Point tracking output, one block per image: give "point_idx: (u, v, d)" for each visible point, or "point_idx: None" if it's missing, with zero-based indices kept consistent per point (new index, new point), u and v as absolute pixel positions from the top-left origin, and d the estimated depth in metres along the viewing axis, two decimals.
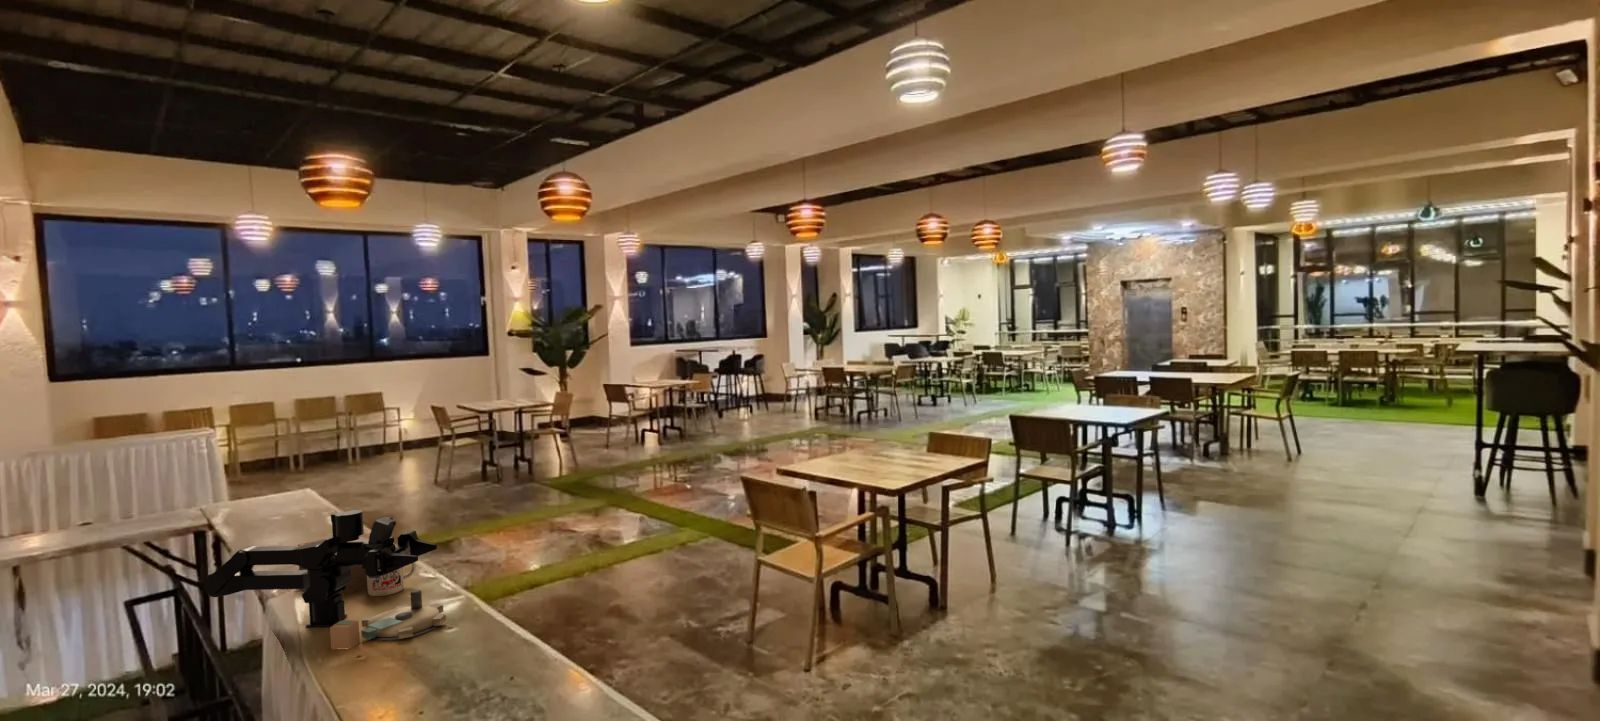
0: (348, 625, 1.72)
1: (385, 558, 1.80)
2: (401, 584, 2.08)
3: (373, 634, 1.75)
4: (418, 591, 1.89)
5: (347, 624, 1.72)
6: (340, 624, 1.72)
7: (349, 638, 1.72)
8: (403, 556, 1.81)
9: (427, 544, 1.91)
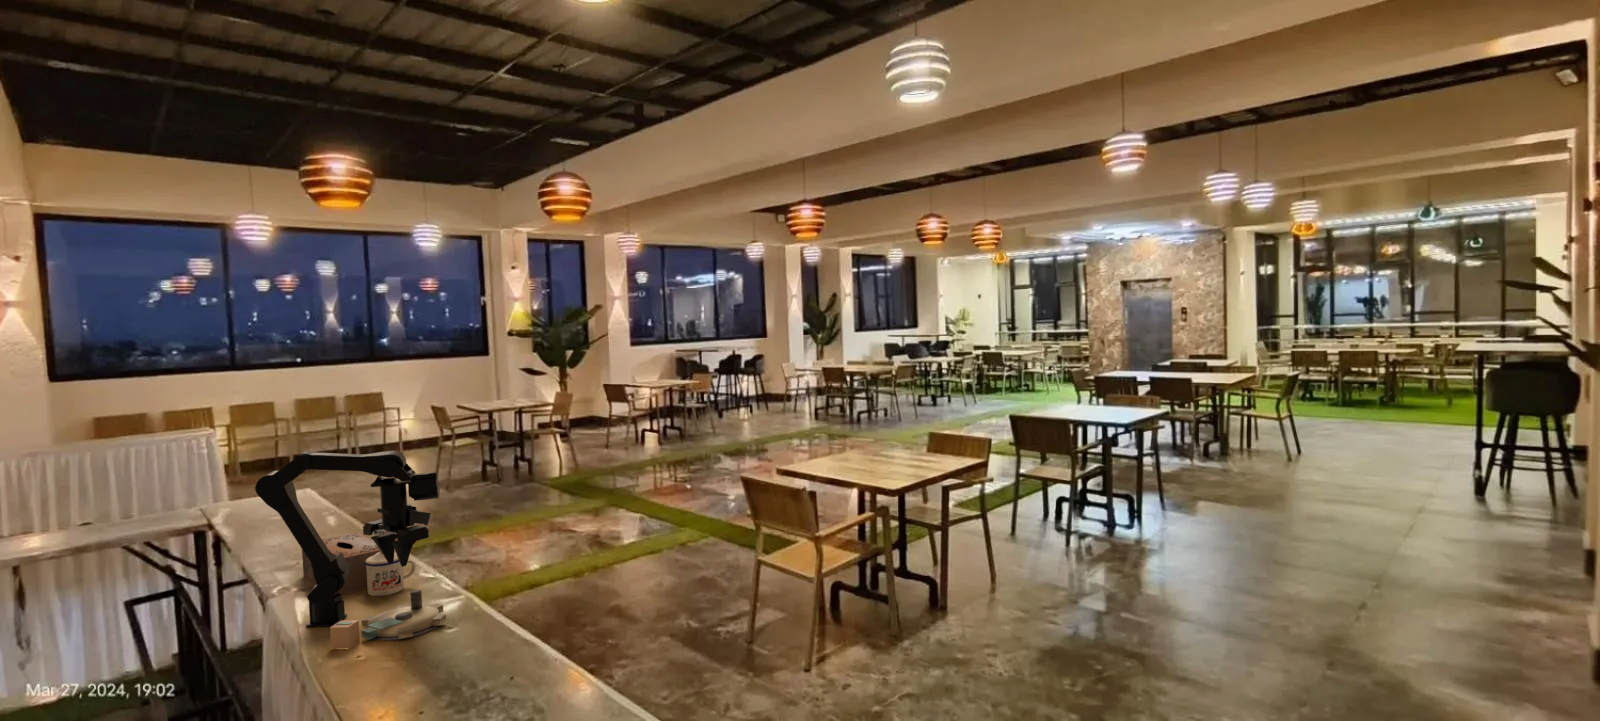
0: (348, 625, 1.72)
1: None
2: (401, 584, 2.08)
3: (373, 634, 1.75)
4: (418, 591, 1.89)
5: (347, 624, 1.72)
6: (340, 624, 1.72)
7: (350, 638, 1.72)
8: (408, 554, 1.91)
9: (393, 553, 1.94)
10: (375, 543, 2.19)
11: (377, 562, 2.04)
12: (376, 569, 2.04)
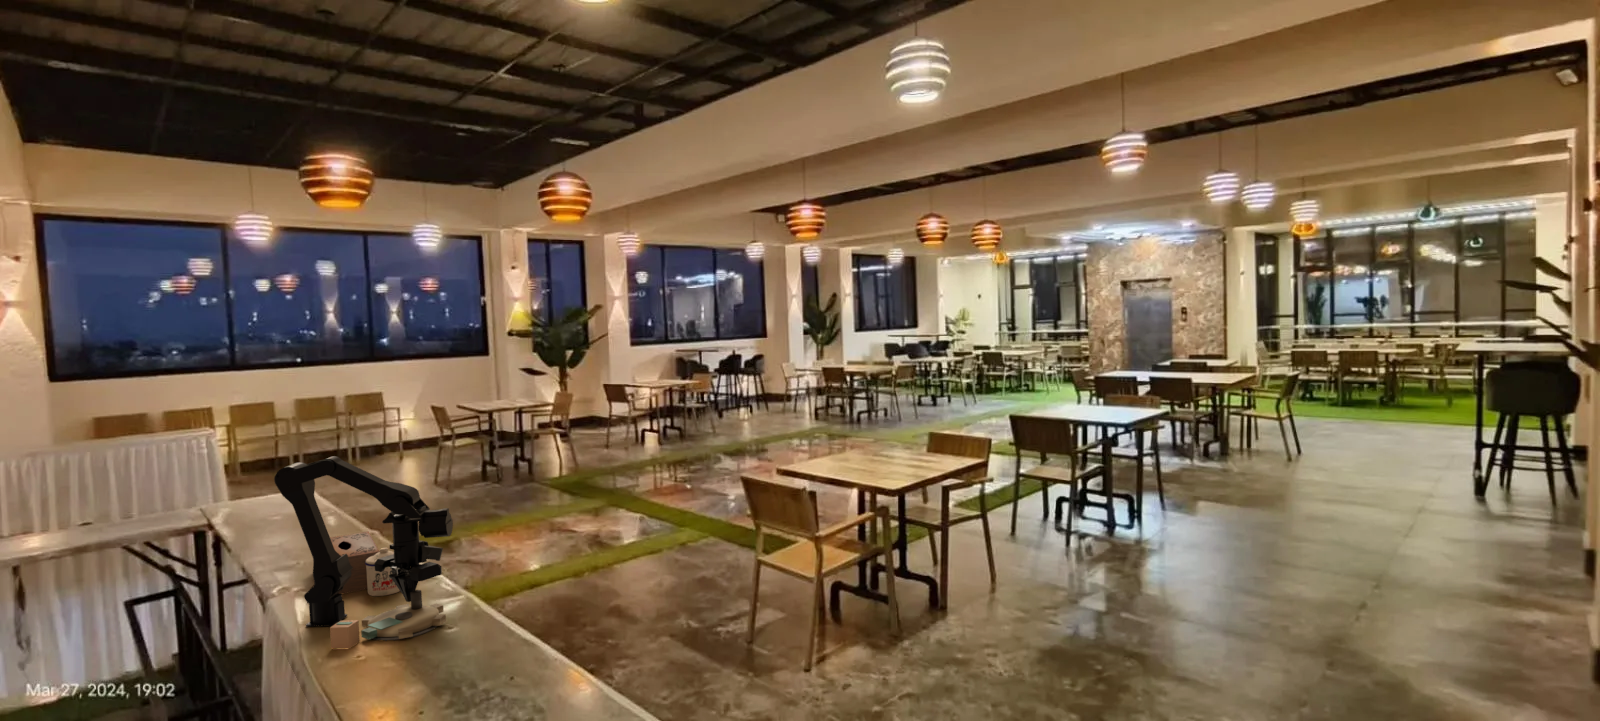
0: (348, 625, 1.72)
1: None
2: None
3: (373, 634, 1.75)
4: (418, 591, 1.89)
5: (347, 624, 1.72)
6: (340, 624, 1.72)
7: (350, 638, 1.72)
8: (414, 589, 1.90)
9: None
10: (372, 545, 2.18)
11: None
12: None
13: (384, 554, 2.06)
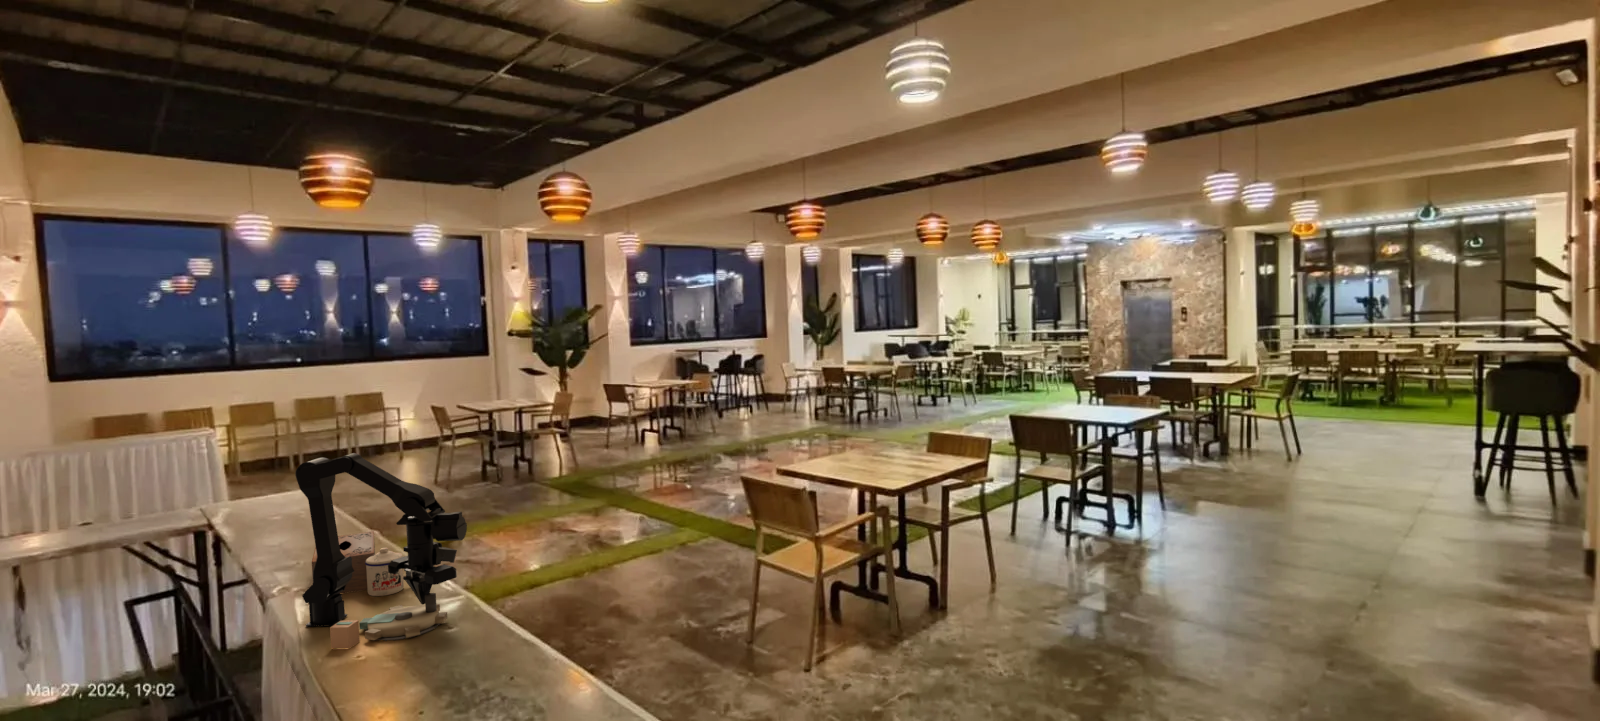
0: (348, 625, 1.72)
1: None
2: (401, 584, 2.08)
3: (364, 625, 1.80)
4: (431, 595, 1.86)
5: (347, 624, 1.72)
6: (340, 624, 1.72)
7: (349, 638, 1.72)
8: (428, 591, 1.88)
9: None
10: (370, 546, 2.17)
11: (377, 562, 2.04)
12: (376, 569, 2.04)
13: (384, 554, 2.06)
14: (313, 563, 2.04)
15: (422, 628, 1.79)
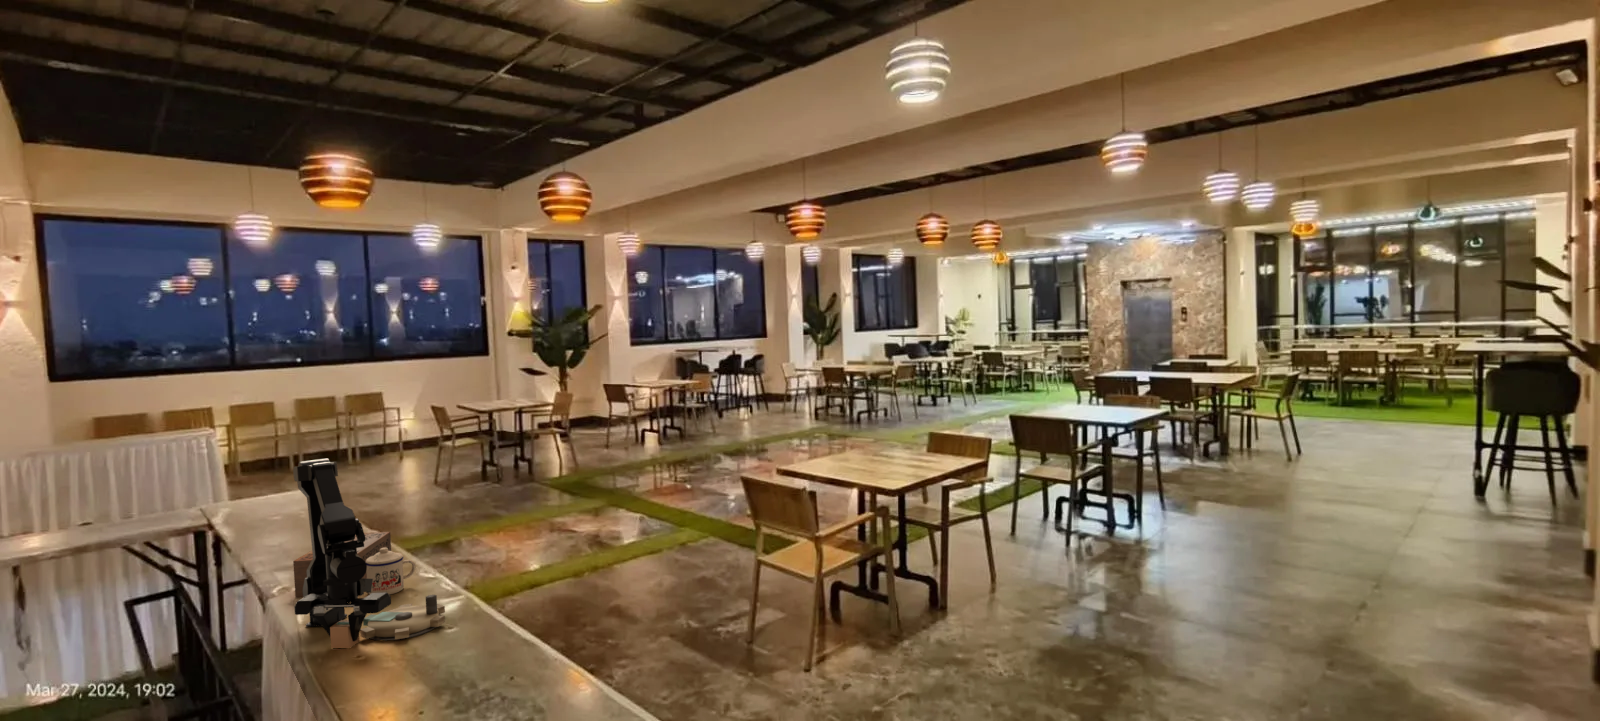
0: (348, 625, 1.72)
1: None
2: (401, 584, 2.08)
3: (367, 622, 1.82)
4: (431, 597, 1.85)
5: (347, 624, 1.72)
6: (340, 624, 1.72)
7: (349, 638, 1.72)
8: (360, 626, 1.74)
9: None
10: (360, 549, 2.14)
11: (377, 562, 2.04)
12: (376, 569, 2.04)
13: (384, 554, 2.06)
14: (295, 562, 2.05)
15: (414, 631, 1.78)
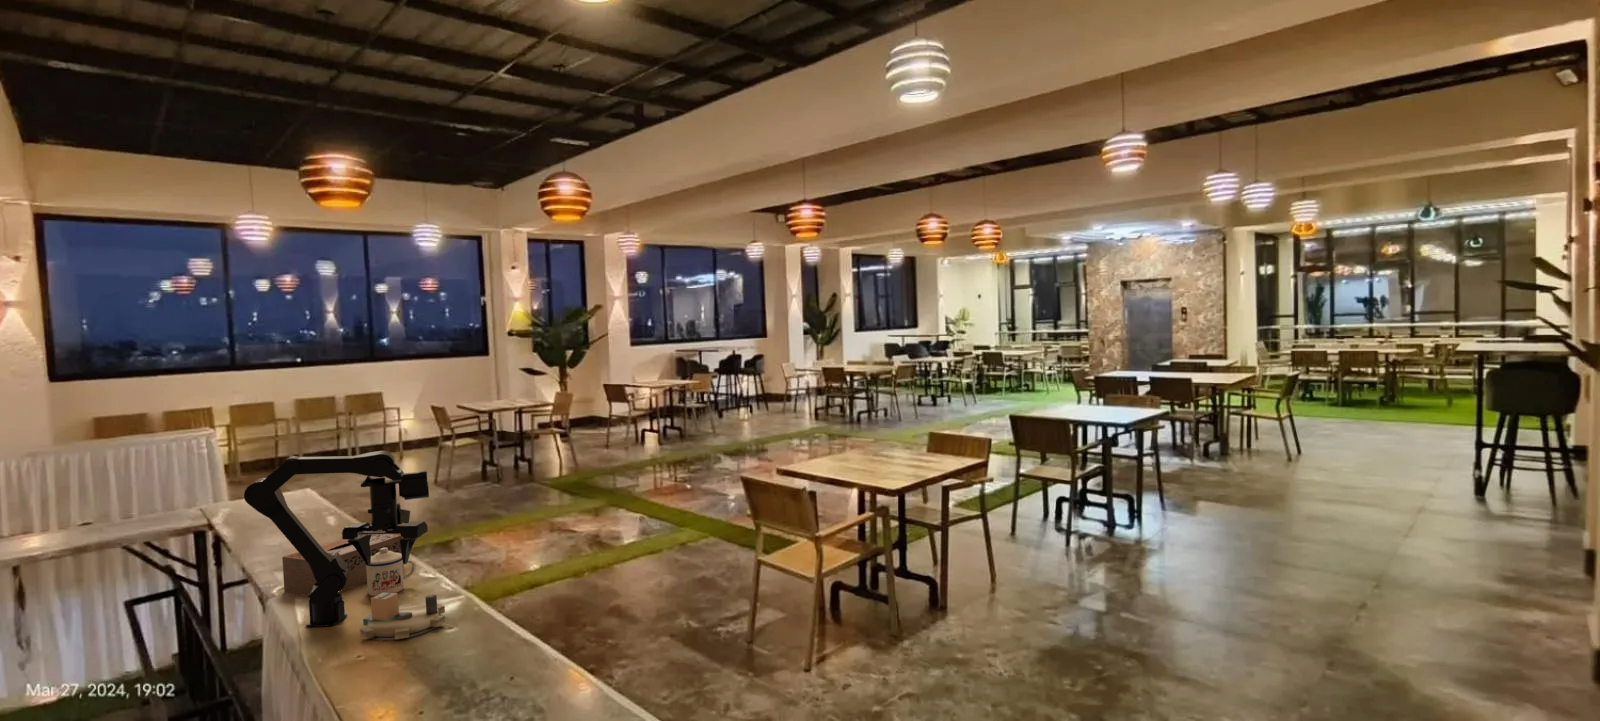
0: (392, 593, 1.84)
1: None
2: (401, 584, 2.08)
3: (367, 622, 1.82)
4: (431, 597, 1.85)
5: (389, 594, 1.84)
6: (384, 596, 1.82)
7: None
8: (409, 551, 1.93)
9: (370, 555, 1.93)
10: (345, 552, 2.11)
11: (377, 562, 2.04)
12: (376, 569, 2.04)
13: (384, 554, 2.06)
14: (283, 558, 2.09)
15: (414, 631, 1.78)
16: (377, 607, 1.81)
